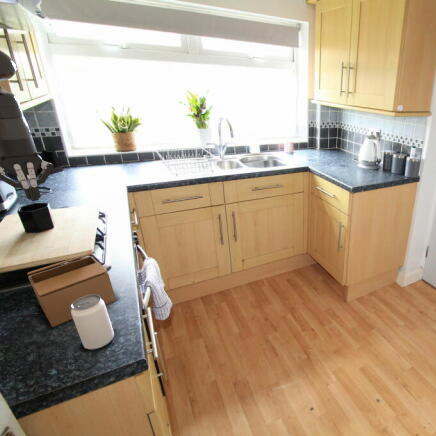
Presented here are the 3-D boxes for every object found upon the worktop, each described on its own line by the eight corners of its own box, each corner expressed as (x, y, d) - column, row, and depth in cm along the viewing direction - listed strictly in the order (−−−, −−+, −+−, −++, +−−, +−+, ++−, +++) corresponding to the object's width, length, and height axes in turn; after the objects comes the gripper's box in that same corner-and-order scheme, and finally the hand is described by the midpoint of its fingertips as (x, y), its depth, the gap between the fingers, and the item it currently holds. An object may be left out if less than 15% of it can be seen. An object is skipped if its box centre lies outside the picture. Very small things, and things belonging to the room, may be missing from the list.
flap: (28, 274, 82) (27, 272, 82) (27, 274, 87) (27, 273, 87) (95, 252, 93) (94, 251, 93) (91, 254, 98) (90, 253, 98)
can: (119, 338, 80) (107, 299, 76) (90, 354, 75) (76, 314, 71) (107, 327, 84) (95, 290, 79) (78, 342, 79) (64, 303, 74)
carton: (52, 327, 83) (38, 295, 79) (39, 303, 91) (26, 273, 87) (116, 300, 94) (107, 270, 89) (99, 281, 102) (91, 253, 98)
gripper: (41, 131, 87) (60, 191, 94) (-28, 136, 78) (-1, 202, 85) (48, 135, 83) (68, 197, 90) (-24, 140, 73) (4, 210, 80)
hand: (34, 200), depth 87 cm, fingers closed
